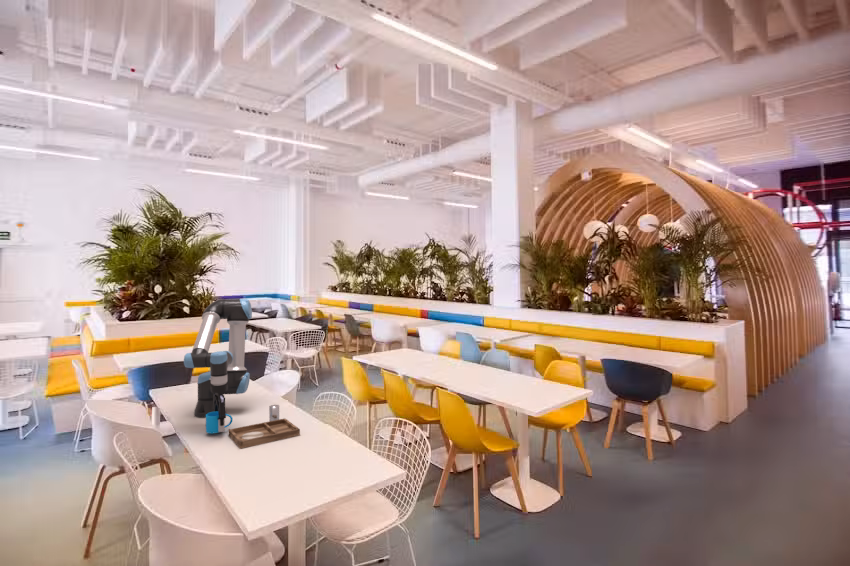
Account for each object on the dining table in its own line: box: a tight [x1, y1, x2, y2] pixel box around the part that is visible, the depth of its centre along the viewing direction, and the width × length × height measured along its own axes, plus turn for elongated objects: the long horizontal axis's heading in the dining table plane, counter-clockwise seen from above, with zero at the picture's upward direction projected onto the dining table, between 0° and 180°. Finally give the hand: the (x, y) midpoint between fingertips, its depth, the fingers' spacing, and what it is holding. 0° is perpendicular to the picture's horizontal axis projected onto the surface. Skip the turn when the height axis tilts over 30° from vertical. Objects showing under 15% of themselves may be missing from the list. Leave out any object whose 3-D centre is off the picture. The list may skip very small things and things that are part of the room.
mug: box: [205, 411, 233, 434], centre depth 218 cm, size 12×8×8 cm
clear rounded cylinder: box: [268, 404, 280, 422], centre depth 233 cm, size 5×5×9 cm
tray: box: [228, 417, 301, 450], centre depth 215 cm, size 20×28×3 cm
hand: (219, 428), depth 218 cm, fingers closed on mug, 8 cm apart
